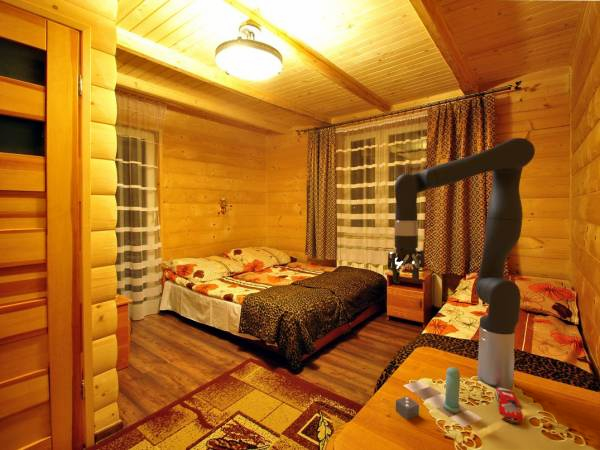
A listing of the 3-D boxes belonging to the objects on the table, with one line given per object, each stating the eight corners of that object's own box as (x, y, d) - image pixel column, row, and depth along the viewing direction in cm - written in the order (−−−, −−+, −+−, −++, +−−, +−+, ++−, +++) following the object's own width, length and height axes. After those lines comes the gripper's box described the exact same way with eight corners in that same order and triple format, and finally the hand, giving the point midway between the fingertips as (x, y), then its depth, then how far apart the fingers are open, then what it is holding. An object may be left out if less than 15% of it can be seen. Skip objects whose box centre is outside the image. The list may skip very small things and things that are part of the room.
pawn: (450, 402, 84) (451, 363, 84) (463, 411, 81) (464, 369, 80) (440, 406, 82) (442, 366, 82) (453, 415, 79) (454, 372, 78)
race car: (524, 429, 76) (525, 414, 76) (498, 422, 79) (499, 407, 79) (516, 400, 88) (516, 386, 88) (493, 395, 90) (494, 381, 90)
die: (406, 410, 82) (407, 394, 82) (418, 419, 79) (419, 403, 79) (395, 415, 81) (395, 398, 80) (407, 424, 77) (407, 407, 77)
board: (420, 383, 96) (420, 379, 96) (483, 422, 78) (483, 418, 78) (401, 389, 92) (401, 385, 92) (462, 432, 74) (462, 427, 74)
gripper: (398, 235, 98) (398, 286, 98) (430, 233, 104) (430, 281, 105) (382, 234, 105) (382, 281, 105) (413, 232, 111) (413, 277, 111)
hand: (406, 281), depth 105 cm, fingers open, 8 cm apart
